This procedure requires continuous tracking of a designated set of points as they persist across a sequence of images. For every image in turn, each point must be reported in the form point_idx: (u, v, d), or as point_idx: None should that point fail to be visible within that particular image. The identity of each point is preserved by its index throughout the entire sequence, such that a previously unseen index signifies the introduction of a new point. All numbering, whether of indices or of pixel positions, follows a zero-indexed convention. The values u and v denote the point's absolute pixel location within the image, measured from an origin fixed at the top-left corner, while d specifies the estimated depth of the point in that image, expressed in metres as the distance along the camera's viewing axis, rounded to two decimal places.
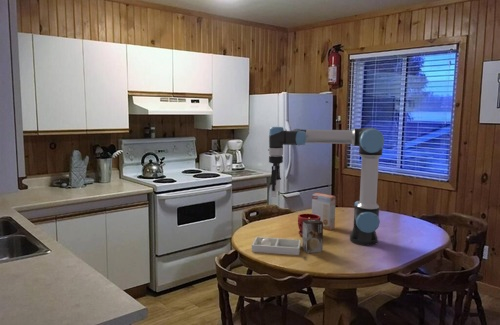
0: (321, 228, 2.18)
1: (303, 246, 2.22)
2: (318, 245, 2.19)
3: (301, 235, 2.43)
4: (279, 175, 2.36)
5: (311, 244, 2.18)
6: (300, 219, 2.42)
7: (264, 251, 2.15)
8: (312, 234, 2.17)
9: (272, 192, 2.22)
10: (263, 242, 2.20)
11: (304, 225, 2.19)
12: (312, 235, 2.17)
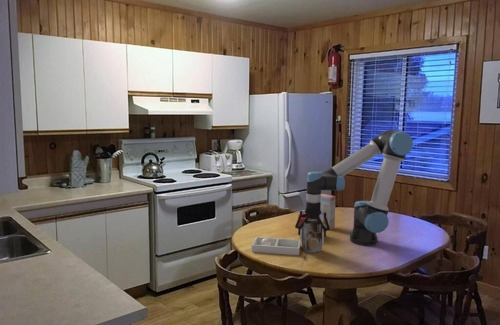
0: (320, 228, 2.18)
1: (302, 246, 2.22)
2: (318, 244, 2.19)
3: None
4: None
5: (310, 243, 2.18)
6: (300, 219, 2.42)
7: (264, 251, 2.15)
8: (311, 234, 2.17)
9: None
10: (263, 242, 2.20)
11: (303, 225, 2.19)
12: (312, 235, 2.17)
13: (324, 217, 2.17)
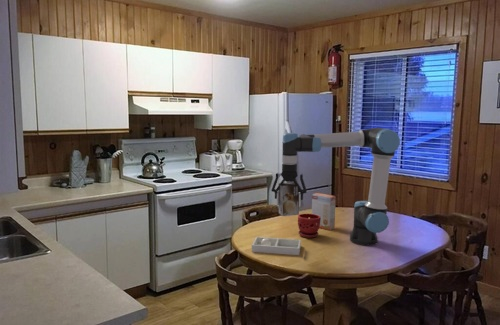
0: (297, 190, 2.13)
1: (279, 210, 2.17)
2: (294, 208, 2.14)
3: (301, 235, 2.43)
4: (303, 189, 2.13)
5: (287, 206, 2.13)
6: (300, 219, 2.42)
7: (264, 251, 2.15)
8: (287, 196, 2.12)
9: (277, 200, 2.18)
10: (263, 242, 2.20)
11: (280, 188, 2.15)
12: (288, 197, 2.13)
13: (300, 179, 2.12)
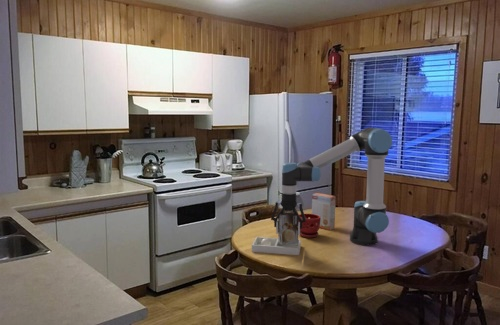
0: (296, 219, 2.16)
1: (279, 238, 2.20)
2: (294, 236, 2.17)
3: (301, 235, 2.43)
4: None
5: (286, 235, 2.15)
6: None
7: (264, 251, 2.15)
8: (287, 225, 2.15)
9: None
10: (263, 242, 2.20)
11: (279, 217, 2.17)
12: (287, 226, 2.15)
13: (300, 208, 2.15)
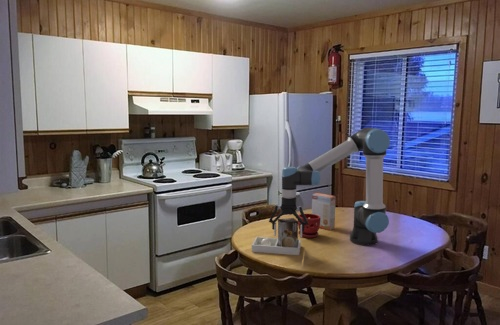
0: (296, 227, 2.16)
1: (278, 245, 2.20)
2: (293, 243, 2.17)
3: None
4: (304, 221, 2.15)
5: (286, 243, 2.16)
6: None
7: (264, 251, 2.15)
8: (286, 233, 2.15)
9: None
10: (263, 242, 2.20)
11: (279, 224, 2.18)
12: (287, 234, 2.15)
13: (300, 212, 2.15)
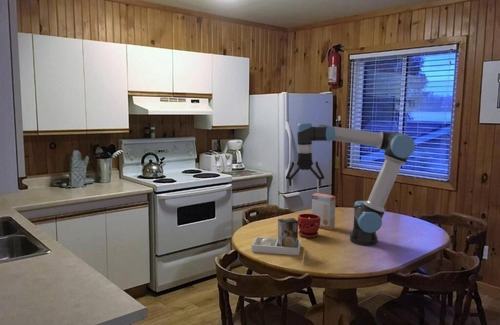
0: (296, 227, 2.16)
1: (278, 245, 2.20)
2: (293, 243, 2.17)
3: (301, 235, 2.43)
4: None
5: (286, 243, 2.16)
6: (300, 219, 2.42)
7: (264, 251, 2.15)
8: (286, 233, 2.15)
9: None
10: (263, 242, 2.20)
11: (279, 224, 2.18)
12: (287, 234, 2.15)
13: (316, 166, 2.20)
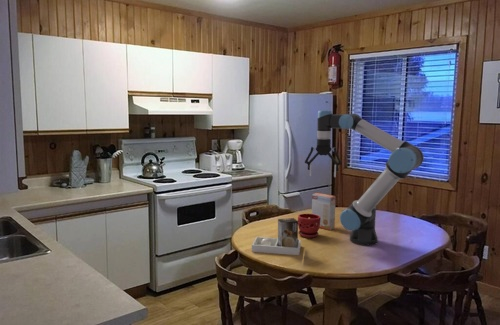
0: (296, 227, 2.16)
1: (278, 245, 2.20)
2: (293, 243, 2.17)
3: (301, 235, 2.43)
4: (338, 161, 2.30)
5: (286, 243, 2.16)
6: (300, 219, 2.42)
7: (264, 251, 2.15)
8: (286, 233, 2.15)
9: None
10: (263, 242, 2.20)
11: (279, 224, 2.18)
12: (287, 234, 2.15)
13: (335, 152, 2.30)
